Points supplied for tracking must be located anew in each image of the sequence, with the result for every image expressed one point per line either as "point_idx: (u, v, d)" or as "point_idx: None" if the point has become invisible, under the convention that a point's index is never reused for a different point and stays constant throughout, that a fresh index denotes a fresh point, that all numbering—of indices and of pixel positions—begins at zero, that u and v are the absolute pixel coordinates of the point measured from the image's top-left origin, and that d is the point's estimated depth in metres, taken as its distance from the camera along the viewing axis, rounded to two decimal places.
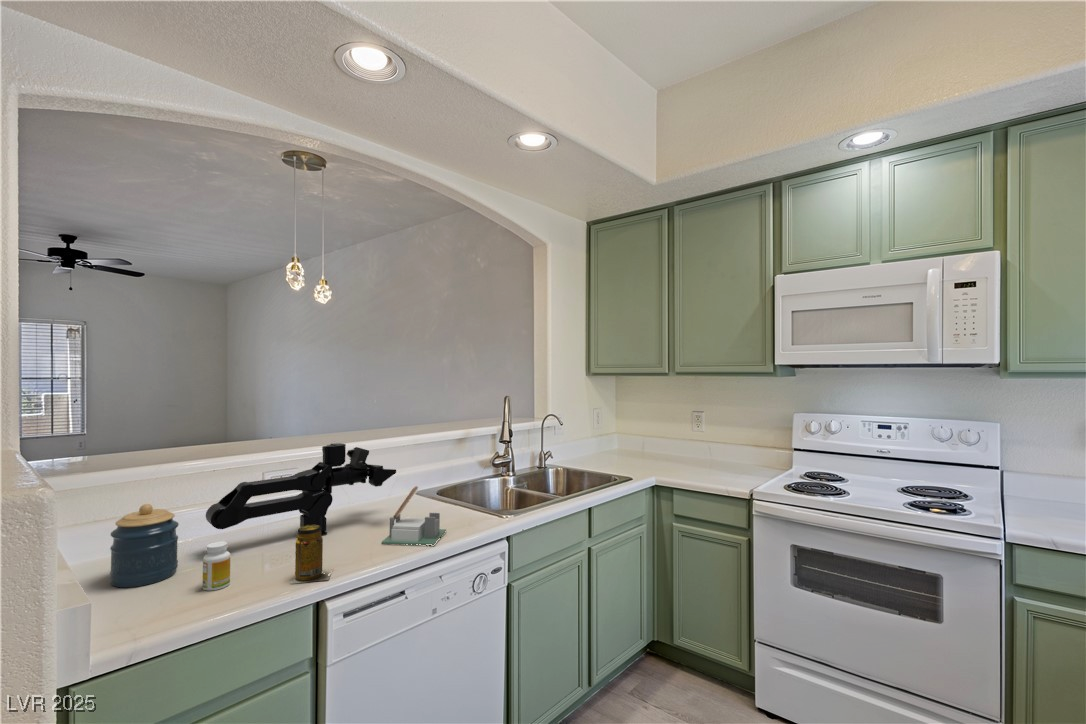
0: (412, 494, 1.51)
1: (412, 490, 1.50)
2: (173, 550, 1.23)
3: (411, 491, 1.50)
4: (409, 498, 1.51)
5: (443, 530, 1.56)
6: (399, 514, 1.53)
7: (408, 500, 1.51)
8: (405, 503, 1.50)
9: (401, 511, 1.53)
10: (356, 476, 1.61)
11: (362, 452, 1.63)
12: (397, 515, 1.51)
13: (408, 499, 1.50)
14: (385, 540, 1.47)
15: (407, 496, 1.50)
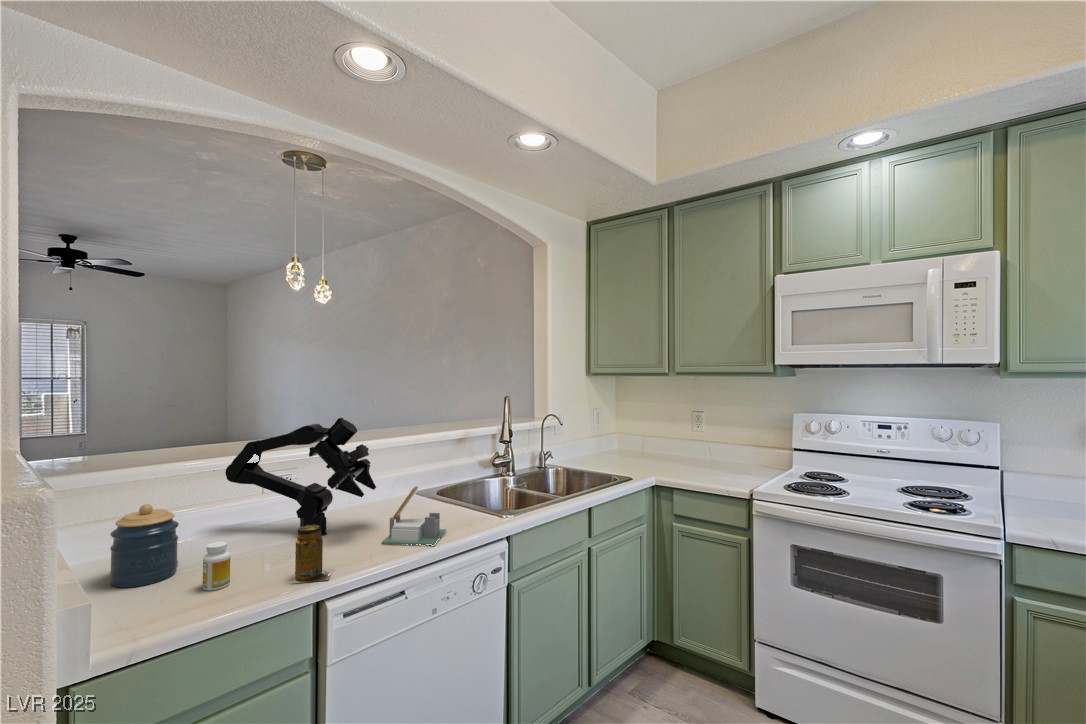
0: (412, 494, 1.51)
1: (412, 490, 1.50)
2: (173, 550, 1.23)
3: (411, 491, 1.50)
4: (409, 498, 1.51)
5: (443, 530, 1.56)
6: (399, 514, 1.53)
7: (408, 500, 1.51)
8: (405, 503, 1.50)
9: (401, 511, 1.53)
10: (334, 464, 1.51)
11: (357, 451, 1.51)
12: (397, 515, 1.51)
13: (408, 499, 1.50)
14: (385, 540, 1.47)
15: (407, 496, 1.50)
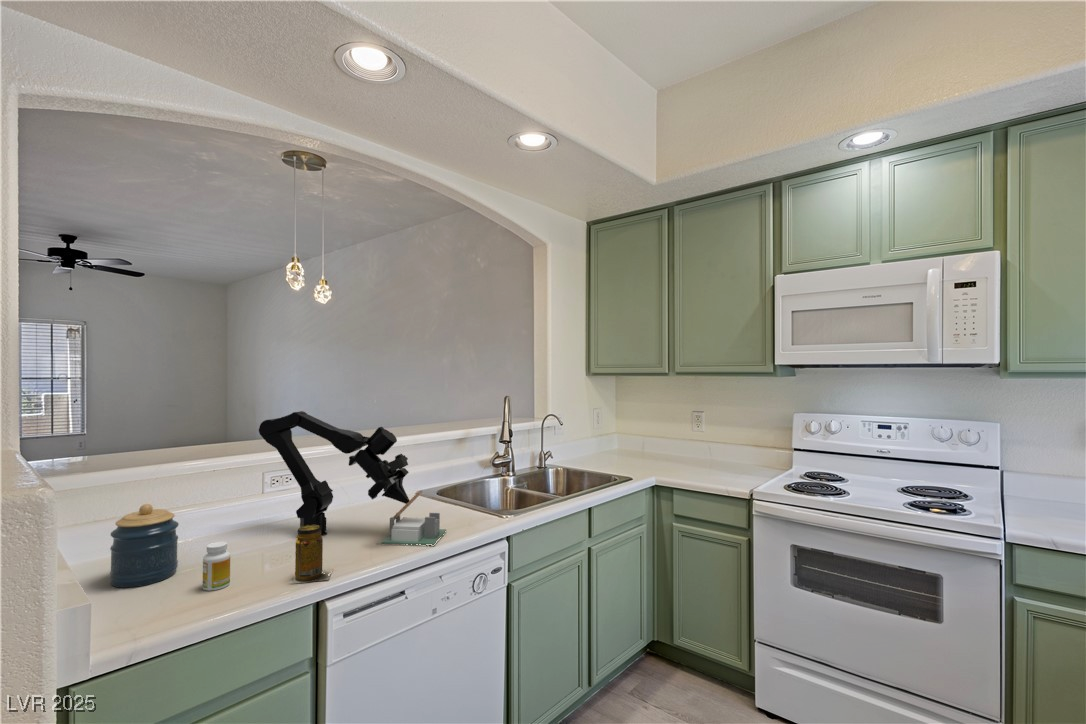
0: None
1: (416, 494, 1.50)
2: (173, 550, 1.23)
3: (415, 495, 1.50)
4: (412, 501, 1.51)
5: (443, 530, 1.56)
6: None
7: None
8: (407, 505, 1.50)
9: None
10: (374, 473, 1.50)
11: (397, 461, 1.50)
12: (397, 516, 1.51)
13: (411, 502, 1.50)
14: (385, 540, 1.47)
15: (411, 499, 1.50)
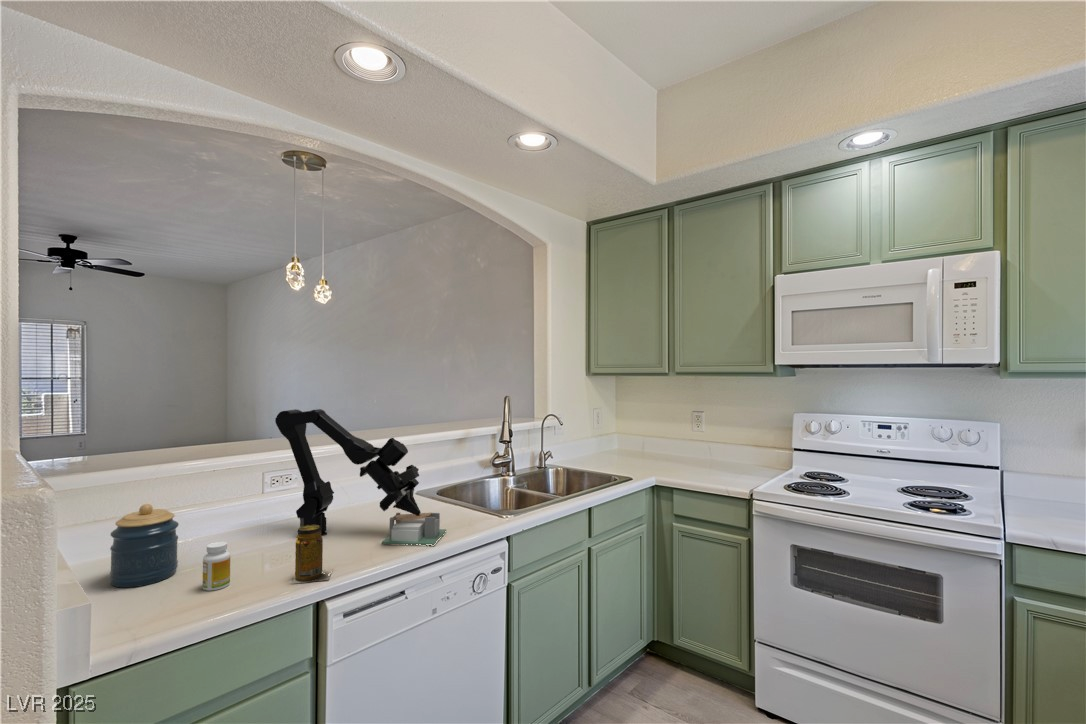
0: (423, 517, 1.50)
1: (427, 516, 1.50)
2: (173, 550, 1.23)
3: (425, 516, 1.50)
4: None
5: (443, 530, 1.56)
6: None
7: None
8: (412, 518, 1.50)
9: None
10: (385, 485, 1.49)
11: (408, 473, 1.49)
12: (398, 519, 1.51)
13: (417, 518, 1.50)
14: (385, 540, 1.47)
15: (419, 516, 1.50)
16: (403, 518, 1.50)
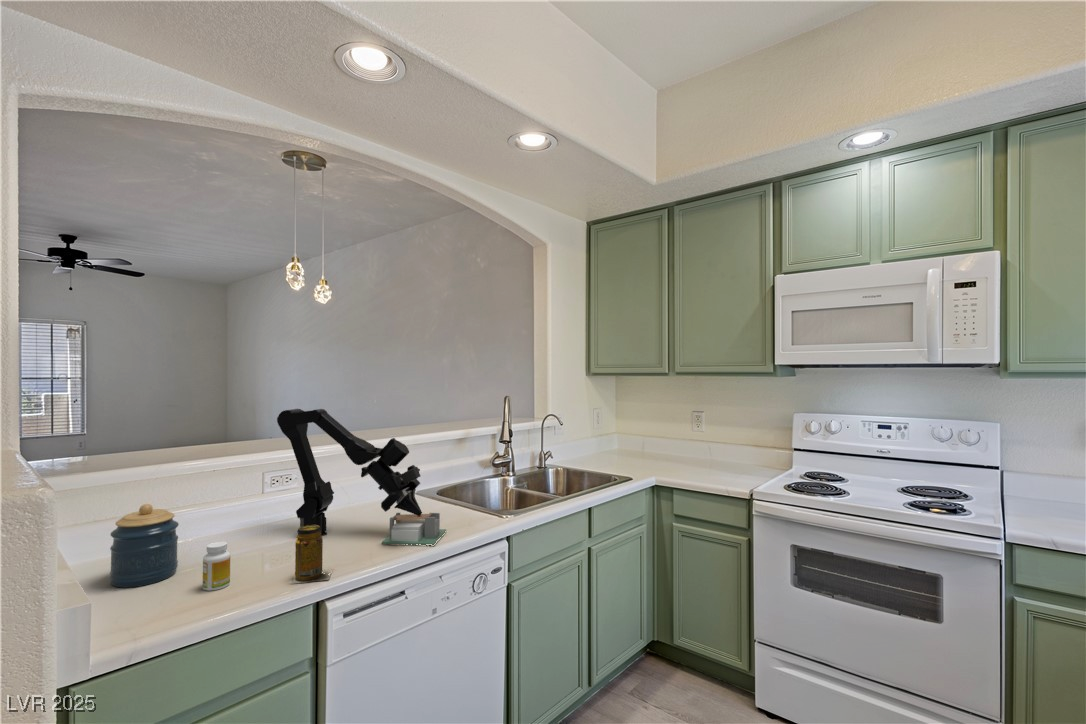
0: (423, 518, 1.50)
1: None
2: (173, 550, 1.23)
3: None
4: None
5: (443, 530, 1.56)
6: None
7: None
8: (412, 519, 1.50)
9: None
10: (387, 485, 1.49)
11: (409, 473, 1.49)
12: (398, 519, 1.51)
13: (417, 519, 1.50)
14: (385, 540, 1.47)
15: (419, 516, 1.50)
16: (403, 518, 1.50)
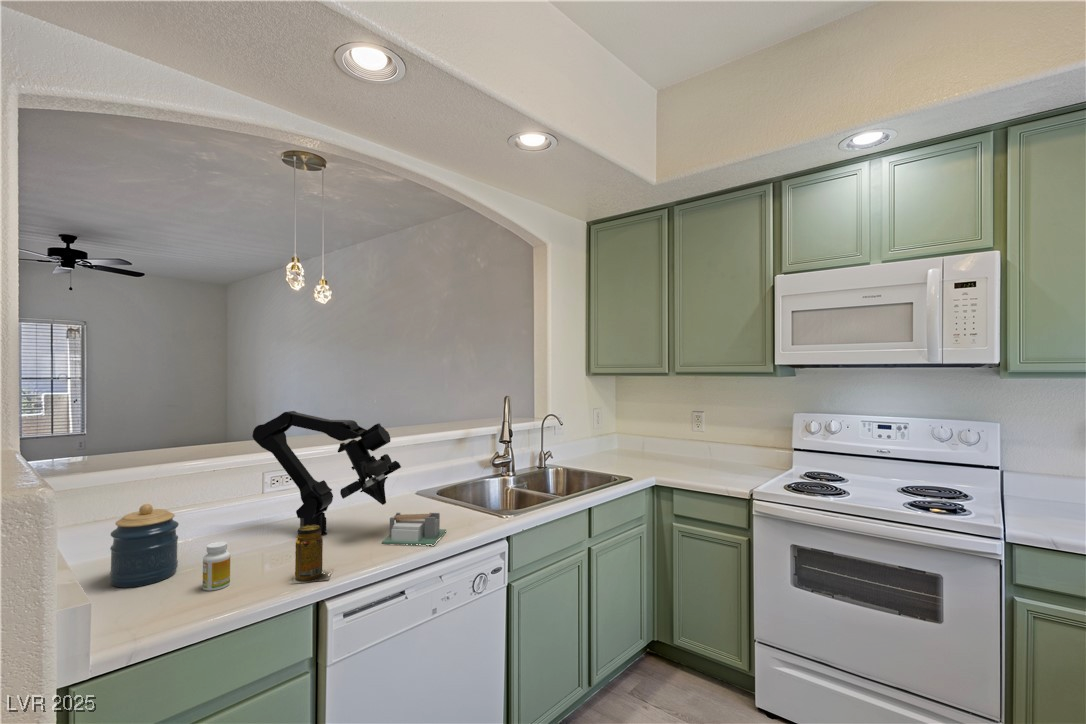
0: (423, 518, 1.50)
1: None
2: (173, 550, 1.23)
3: None
4: None
5: (443, 530, 1.56)
6: None
7: None
8: (412, 519, 1.50)
9: None
10: (356, 469, 1.51)
11: (372, 469, 1.47)
12: (398, 519, 1.51)
13: (417, 519, 1.50)
14: (385, 540, 1.47)
15: (419, 516, 1.50)
16: (403, 518, 1.50)
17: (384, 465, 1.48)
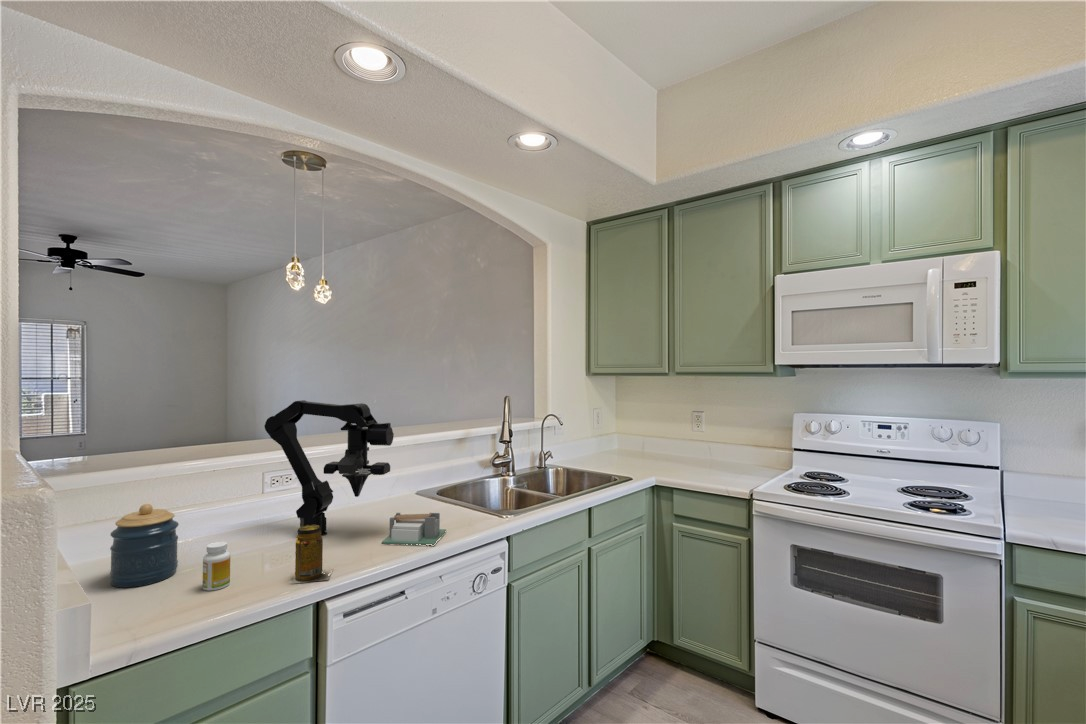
0: (423, 518, 1.50)
1: None
2: (173, 550, 1.23)
3: None
4: None
5: (443, 530, 1.56)
6: None
7: None
8: (412, 519, 1.50)
9: None
10: None
11: None
12: (398, 519, 1.51)
13: (417, 519, 1.50)
14: (385, 540, 1.47)
15: (419, 516, 1.50)
16: (403, 518, 1.50)
17: (347, 468, 1.45)
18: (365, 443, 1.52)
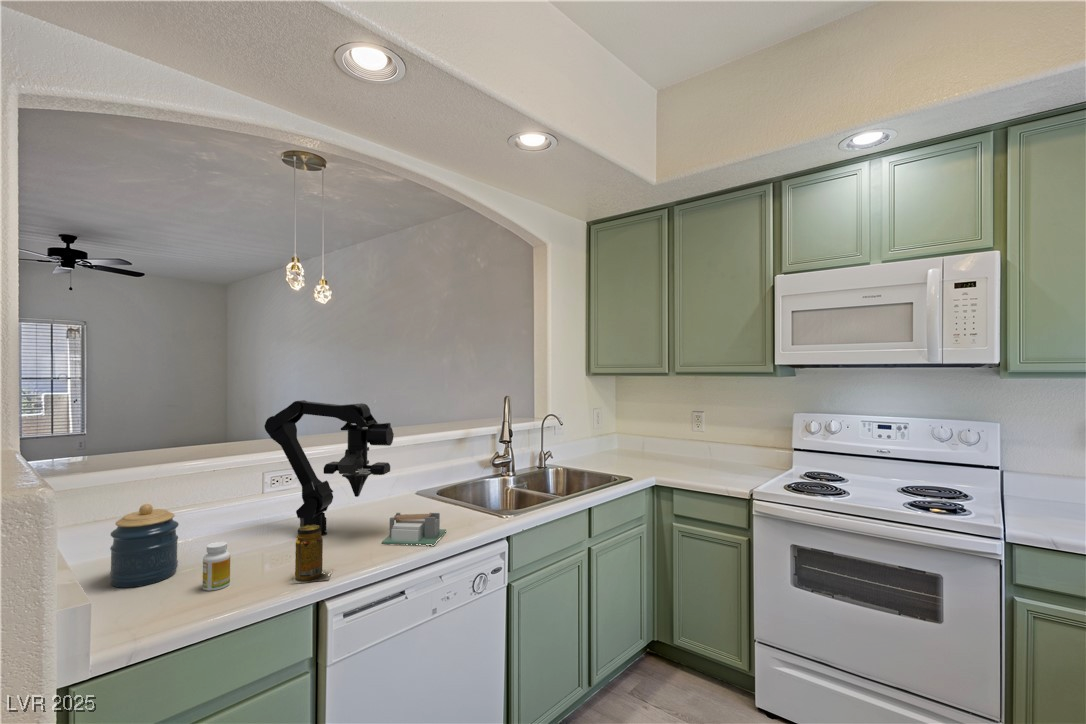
0: (423, 518, 1.50)
1: None
2: (173, 550, 1.23)
3: None
4: None
5: (443, 530, 1.56)
6: None
7: None
8: (412, 519, 1.50)
9: None
10: None
11: None
12: (398, 519, 1.51)
13: (417, 519, 1.50)
14: (385, 540, 1.47)
15: (419, 516, 1.50)
16: (403, 518, 1.50)
17: (347, 468, 1.45)
18: (365, 443, 1.52)
